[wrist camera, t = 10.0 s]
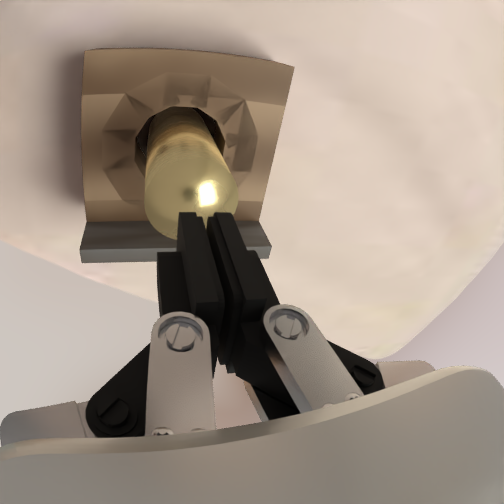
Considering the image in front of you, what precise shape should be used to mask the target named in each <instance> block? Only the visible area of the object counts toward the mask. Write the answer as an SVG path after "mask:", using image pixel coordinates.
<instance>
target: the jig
mask: <svg viewBox="0 0 504 504" xmlns="http://www.w3.org/2000/svg"><path fill="white" fill-rule="evenodd" d="M293 72H294V67H293V66H289V65H286V64H282V63H279V62H275V61H270V60H264V59H259V58H253V57H246V56H240V55H233V54H225V53H217V52H208V51H197V50H185V49H168V48H100V49H92V50H87V51H85V53H84V64H83V79H82V100H81V150H82V173H83V188H84V200H85V211H86V220H87V223H86V226H85V230H84V234H83V238H82V242H81V246H80V256H81V261H82V263H105V262H152V261H157V252H175V251H176V246H177V240H175V239H171V238H169V237H166V236H165V235H163V234H161V233H160V232H159V231H157V230H156V229H155V228H154V227H153V226H152V224H151V223H150V221H149V219H148V217H147V215H146V212H145V204H144V199H145V176H146V159H147V158H146V157H145V155H144V153H143V151H142V150H141V148H140V146H139V144H138V142H137V140H138V133H139V132H140V130H141V129H142V127H143V126H144V124H145V123H146V121H147V120H148V118H149V117H151V116H153V115H155V114H157V113H159V112H161V111H163V110H165V109H167V108H169V107H171V106H178V107H196V108H199V109H200V110H202V111H203V112H205V113H206V114H208V115H209V116H211V117H212V118H213V120H214V123H215V125H216V127H215V134H214V142H215V144H216V146H217V147H218V149H219V151H220V153H221V155H222V157H223V159H224V161H225V163H226V165H227V167H228V169H229V171H230V172H231V174H232V176H233V178H234V180H235V182H236V185H237V188H238V205H237V208H236V211H235V213H234V215H233V217H234V220H235V222H236V224H237V227H238V229H239V232H240V234H241V236H242V239H243V241H244V244H245V246H246V248H247V250H255V251H256V252H257V254H258V256H259V258H260V259H268V258H269V255H270V251H271V248H272V246H271V244H270V242H269V240H268V238H267V236H266V234H265V232H264V230H263V228H262V226H261V225H260V223H259V217H260V213H261V209H262V204H263V200H264V196H265V192H266V187H267V183H268V179H269V174H270V170H271V166H272V162H273V157H274V153H275V149H276V144H277V140H278V136H279V132H280V127H281V123H282V119H283V114H284V110H285V106H286V102H287V97H288V93H289V89H290V85H291V80H292V76H293Z"/></svg>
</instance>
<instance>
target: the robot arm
mask: <svg viewBox="0 0 504 504" xmlns="http://www.w3.org/2000/svg"><path fill="white" fill-rule="evenodd" d="M157 288H158V301H159V312H160V318H159V319H158V320H157V321H156V322H155V324H154V325H153V329H152V334H151V342H150V343H149V344H148V345H147V346H146V347H145V348H144V349H143V350H142V351H141V352H140V353H138V355H136V356H135V357H134V358H133V359H132V360H131V361H130V362H129V363H128V364H127V365H126V366H124V368H122V369H121V370H120V371H119V372H118V373H117V374H116V375H115V376H114V377H113V378H112V379H110V380H109V381H108V382H107V383H106V384H105V385H104V386H103V387H102V388H101V389H100V390H99V391H97V392H96V393H95V394H94V395H93V396H92V398H91V399H90V400H89V401H87V402H82V403H76V402H75V401H71V402H67V403H62V404H57V405H51V406H47V407H41V408H35V409H29V410H23V411H16V412H13V413H10V414H8V415H7V416H6V417H5V418H4V419H3V421H2V423H1V426H0V440H1V446H2V447H0V504H504V388H503V387H502V386H501V384H500V383H499V382H498V380H496V378H495V377H494V376H493V375H492V374H491V373H490V372H488V371H487V370H484V369H482V368H478V367H472V366H451V367H447V368H442V369H439V370H435V369H434V368H433V367H432V366H431V365H430V364H429V363H427V362H425V361H420V360H418V361H394V362H377V363H376V364H375V365H374V364H373V363H371V362H370V361H368V360H366V359H364V358H362V357H360V356H358V355H356V354H354V353H352V352H350V351H348V350H346V349H344V348H342V347H340V346H338V345H336V344H334V343H332V342H330V341H328V340H326V339H325V337H324V336H323V334H322V333H321V332H320V330H319V329H318V327H317V326H316V324H315V323H314V321H313V320H312V319H311V317H310V316H309V315H308V314H307V313H306V312H305V311H303V310H302V309H300V308H298V307H295V306H292V305H286V304H283V305H280V303H279V301H278V298H277V296H276V294H275V292H274V289H273V287H272V285H271V283H270V281H269V278H268V276H267V274H266V272H265V269H264V267H263V265H262V263H261V261H260V258H259V256H258V254H257V252H256V251H255V250H247V248H246V246H245V244H244V241H243V239H242V236H241V234H240V232H239V229H238V227H237V224H236V222H235V220H234V217H233V215H232V213H231V212H215V213H214V215H213V216H209V217H208V219H207V226H206V228H205V225H204V221H203V217H202V216H197V214H196V212H179V216H178V229H177V246H176V251H175V252H157ZM217 356H218V360H219V363H220V365H224V364H225V365H226V369H227V373H236V376H238V377H240V378H241V379H243V380H244V382H243V383H244V386H245V389H246V391H247V393H248V395H249V397H250V399H251V401H252V403H253V405H254V407H255V409H256V411H257V413H258V415H259V417H260V419H261V421H262V422H259V423H254V424H248V425H242V426H236V427H230V428H224V429H217V430H216V418H215V406H214V393H213V378H214V372H215V367H216V362H217Z"/></svg>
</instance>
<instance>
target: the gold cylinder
mask: <svg viewBox="0 0 504 504" xmlns="http://www.w3.org/2000/svg"><path fill="white" fill-rule="evenodd" d="M144 204H145V212H146V215H147V217H148V219H149V221H150V223H151V224H152V226H153V227H154V228H155V229H156V230H157V231H159V232H160V233H161V234H163V235H165V236H166V237H169V238H171V239H175V240H177V229H178V216H179V212H196V214H197V216H202V217H203V221H204V225H205V228H206V226H207V219H208V217H209V216H213V215H214V213H215V212H231V213H232V215H234V213H235V211H236V208H237V205H238V188H237V185H236V182H235V180H234V178H233V176H232V174H231V172H230V171H229V169H228V167H227V165H226V163H225V161H224V159H223V157H222V155H221V153H220V151H219V149H218V147H217V146H216V144H215V142H214V140H213V138H212V136H211V134H210V132H209V130H208V128H207V126H206V125H205V123H204V121H203V119H202V117H201V116H200V115H199V114H198V113H197V112H196V111H195V110H193V109H192V108H189V107H178V106H171V107H169V108H167V109H165V110H163V111H161V112H159V113H158V114H157V115H156V116H155V117H154V119H153V120H152V122H151V124H150V127H149V133H148V145H147V159H146V176H145V199H144Z"/></svg>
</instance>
